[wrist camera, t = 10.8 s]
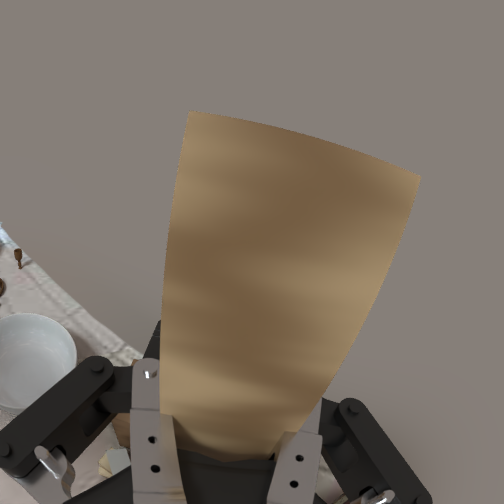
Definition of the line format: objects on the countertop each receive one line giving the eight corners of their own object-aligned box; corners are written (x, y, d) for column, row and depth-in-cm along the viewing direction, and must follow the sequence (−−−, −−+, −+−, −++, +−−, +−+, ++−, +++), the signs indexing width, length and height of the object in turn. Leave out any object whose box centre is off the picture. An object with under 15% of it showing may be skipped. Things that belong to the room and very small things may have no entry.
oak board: (167, 508, 12) (189, 110, 4) (180, 435, 19) (227, 127, 10) (224, 516, 12) (421, 176, 4) (228, 443, 19) (324, 151, 11)
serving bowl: (11, 450, 19) (-9, 428, 16) (-26, 360, 28) (-39, 333, 25) (107, 396, 36) (101, 371, 34) (53, 326, 45) (47, 299, 42)
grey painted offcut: (107, 454, 25) (105, 450, 24) (127, 452, 26) (125, 448, 26) (116, 483, 21) (114, 479, 21) (137, 480, 23) (136, 477, 22)
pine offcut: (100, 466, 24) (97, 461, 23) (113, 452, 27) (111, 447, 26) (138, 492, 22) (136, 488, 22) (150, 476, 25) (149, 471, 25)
